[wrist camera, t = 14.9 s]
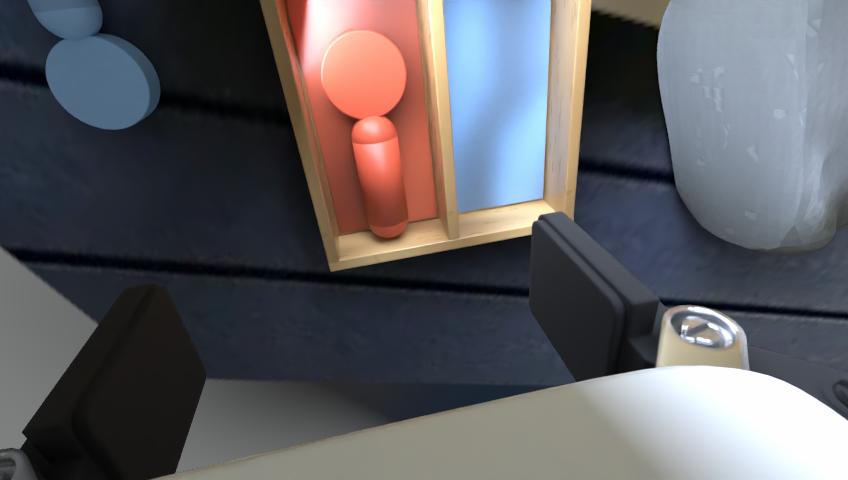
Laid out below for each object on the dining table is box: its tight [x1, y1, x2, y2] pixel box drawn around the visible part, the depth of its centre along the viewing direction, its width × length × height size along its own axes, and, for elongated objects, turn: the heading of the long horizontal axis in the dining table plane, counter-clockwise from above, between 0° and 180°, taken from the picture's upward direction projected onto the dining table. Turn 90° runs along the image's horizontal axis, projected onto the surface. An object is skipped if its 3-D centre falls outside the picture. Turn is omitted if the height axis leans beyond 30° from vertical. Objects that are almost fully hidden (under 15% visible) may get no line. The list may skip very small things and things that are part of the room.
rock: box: [657, 0, 848, 254], centre depth 21 cm, size 18×11×8 cm, turn 24°
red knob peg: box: [321, 28, 408, 238], centre depth 21 cm, size 10×4×2 cm, turn 6°
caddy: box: [260, 0, 592, 272], centre depth 21 cm, size 13×13×3 cm
